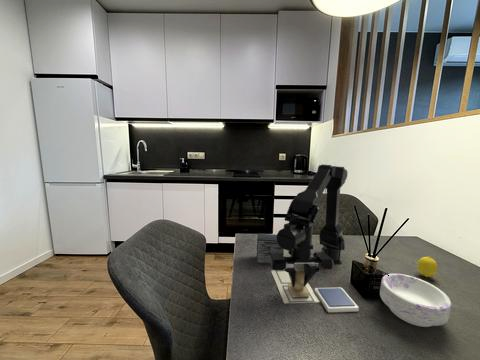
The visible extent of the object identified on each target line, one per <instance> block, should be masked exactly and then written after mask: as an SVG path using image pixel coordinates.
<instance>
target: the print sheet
mask: <svg viewBox="0 0 480 360" xmlns="http://www.w3.org/2000/svg"><path fill="white" fill-rule="evenodd" d="M270 272H271V274H272V277H273V280H274V282H275V284H276V287H277V289H278V292H279V294H280V296H281V299H282V301H283V304H285V305H286V304H310V303H311V304H312V303H313V304H314V303H321V301H320V299H319V298H318V296H317V294H316V293H315V291H314V290H313V288H312V287H311V286H310V284H309V282H308V283H307V285H306V286H305V287H306V289H307V291H308V292H309V298H292V296H291V294H290V292H289V290H288V283H291V281H290V277H289V273H288V272H286V271H285V269H284V270H270Z"/></svg>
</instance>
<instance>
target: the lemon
mask: <svg viewBox="0 0 480 360" xmlns="http://www.w3.org/2000/svg"><path fill="white" fill-rule="evenodd" d="M417 270H418V272H419V273H420V275H422V276H423V277H424V276H425V277H424V278H428V277H430V278H432V277H434V276H435V275H436V274H437V272H438V264H437V262H436V261H435V259H434V258H431V257H430V256H422V257H421V258H420V259H419V260H418V261H417Z"/></svg>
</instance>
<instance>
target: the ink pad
mask: <svg viewBox="0 0 480 360" xmlns="http://www.w3.org/2000/svg"><path fill="white" fill-rule="evenodd" d="M314 293H315V295H316V296H317V298H318V299H319V301H320V303H321V304H322V305H323V307H324V308H325V310H326V312H328V313H347V312H348V313H350V312H353V313H354V312H359V309H360V307H359V306H358V305H357V303H355V301H354V300H353V299H352V298H351V297H350V296H349V295H350V294H348V293H347V291H345V289H343V288H342V287H339V286H338V287H315V288H314Z"/></svg>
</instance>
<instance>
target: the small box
mask: <svg viewBox="0 0 480 360" xmlns="http://www.w3.org/2000/svg"><path fill="white" fill-rule="evenodd" d="M284 250H285V249H283V248H281V247H280V245H279V244H278V242H277V234H274V233H257V238H256V261H255V262H256V264H258V265H268V266H269V265H270V263H269V255H270V253H282V255H283V256H284V253H285V251H284ZM270 266H271V265H270Z"/></svg>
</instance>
